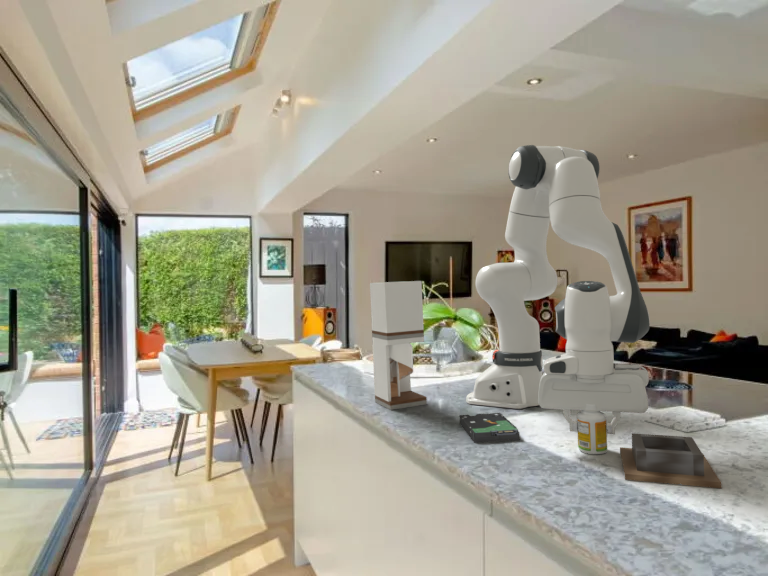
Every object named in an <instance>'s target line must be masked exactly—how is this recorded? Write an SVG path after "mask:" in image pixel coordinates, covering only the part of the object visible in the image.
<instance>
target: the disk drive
mask: <svg viewBox="0 0 768 576" xmlns="http://www.w3.org/2000/svg"><path fill="white" fill-rule="evenodd" d="M458 419H459V425H460V426H461V428H462V429H463V430H464V431H465V433H466V434H467V435H468V437H469V438H470V440H471V441H472V442H473V443H474V444H477V443H478V444H479V443H493V442H505V441H506V442H508V441H519V440H520V439H521V438H520V437H521V436H520V432H519V428H517V426H516V425H514V424H513V423H512V422H511V421H510V420H509V419H508V418H507V417H505V416H504V415H503V414H502V413H501V412H492V413H476V414H474V415H470V414H459V418H458Z"/></svg>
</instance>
